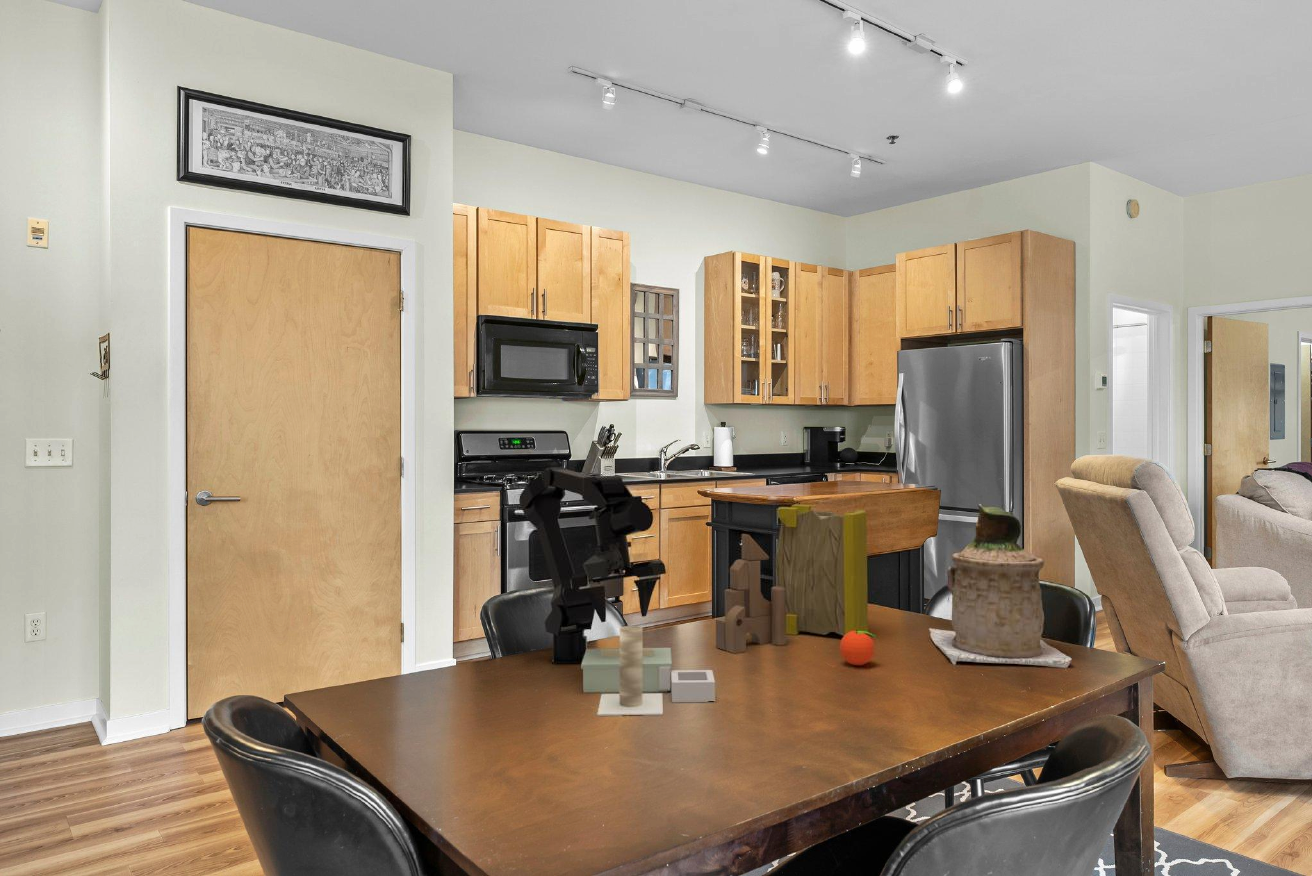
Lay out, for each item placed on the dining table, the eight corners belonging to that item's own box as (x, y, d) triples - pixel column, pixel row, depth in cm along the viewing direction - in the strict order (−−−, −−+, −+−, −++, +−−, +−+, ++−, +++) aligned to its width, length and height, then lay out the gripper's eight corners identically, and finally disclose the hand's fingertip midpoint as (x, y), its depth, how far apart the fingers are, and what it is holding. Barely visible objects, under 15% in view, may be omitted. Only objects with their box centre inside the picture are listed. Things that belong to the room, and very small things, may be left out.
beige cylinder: (615, 705, 142) (616, 630, 142) (624, 698, 145) (625, 625, 146) (637, 707, 140) (637, 631, 140) (645, 701, 144) (645, 627, 144)
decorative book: (871, 632, 194) (868, 506, 194) (856, 642, 185) (854, 510, 185) (791, 623, 205) (790, 504, 205) (774, 633, 195) (772, 507, 196)
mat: (597, 716, 137) (597, 714, 137) (601, 695, 148) (601, 694, 148) (662, 715, 137) (662, 713, 137) (662, 695, 148) (662, 693, 148)
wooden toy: (733, 654, 176) (732, 538, 176) (715, 648, 182) (714, 535, 182) (789, 644, 184) (787, 533, 184) (770, 638, 190) (769, 531, 190)
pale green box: (578, 703, 144) (578, 667, 144) (586, 675, 162) (586, 642, 162) (715, 702, 144) (714, 665, 144) (708, 673, 162) (708, 641, 162)
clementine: (877, 660, 170) (876, 626, 170) (883, 670, 163) (882, 634, 163) (837, 660, 171) (837, 626, 171) (842, 669, 164) (842, 633, 164)
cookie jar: (1076, 669, 162) (1074, 508, 162) (947, 665, 166) (945, 508, 166) (1038, 639, 187) (1036, 499, 187) (926, 636, 190) (924, 499, 190)
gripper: (549, 547, 158) (560, 629, 155) (632, 531, 149) (645, 618, 147) (581, 545, 167) (591, 623, 165) (661, 530, 159) (673, 612, 156)
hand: (623, 619), depth 158 cm, fingers open, 9 cm apart
